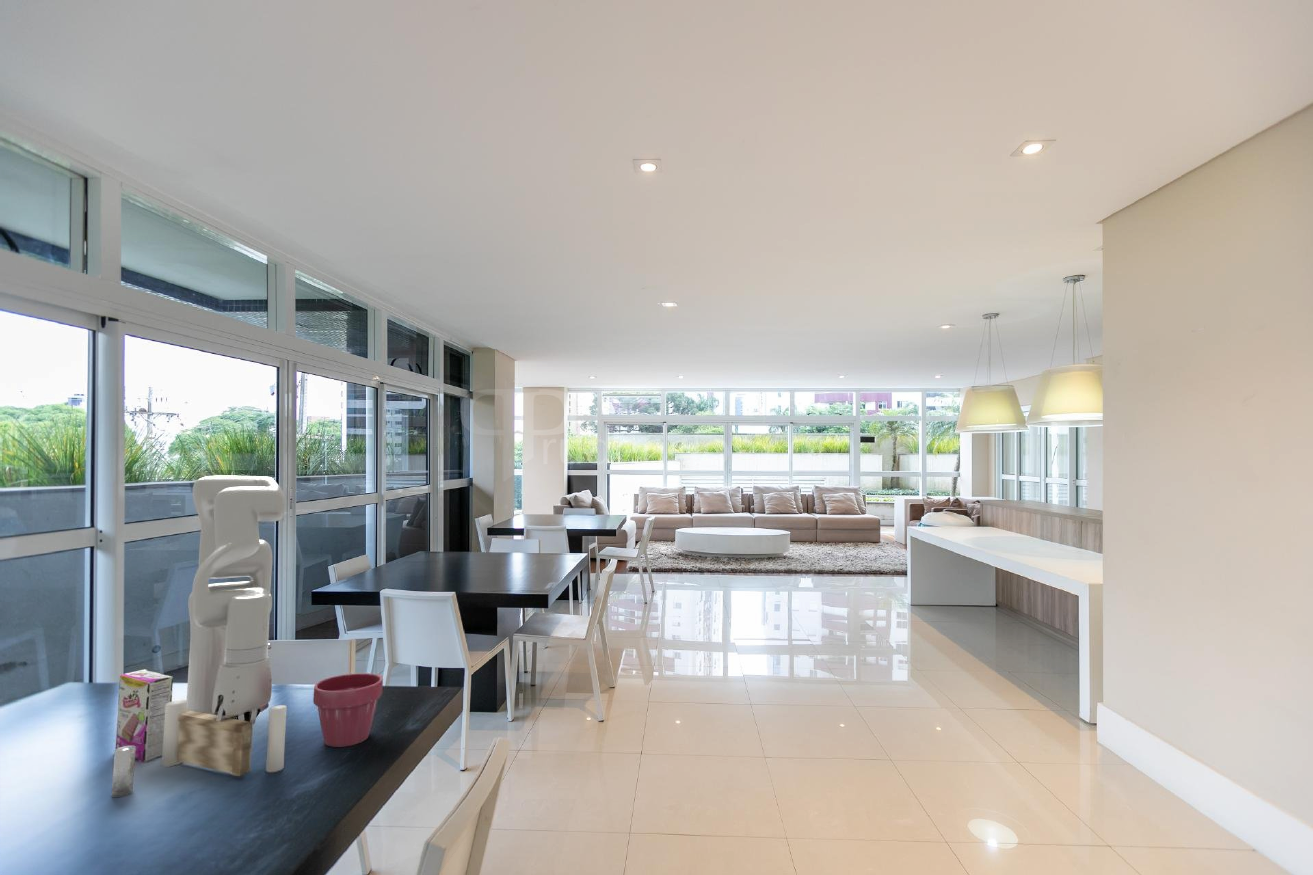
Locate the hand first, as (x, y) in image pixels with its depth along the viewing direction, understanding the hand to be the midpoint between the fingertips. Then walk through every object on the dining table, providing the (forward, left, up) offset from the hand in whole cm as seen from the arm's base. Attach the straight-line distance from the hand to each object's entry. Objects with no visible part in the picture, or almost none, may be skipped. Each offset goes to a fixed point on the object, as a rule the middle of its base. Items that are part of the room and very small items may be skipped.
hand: (241, 745), depth 131 cm
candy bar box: (-2, -24, -4) cm, 25 cm away
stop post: (+14, -12, -4) cm, 19 cm away
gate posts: (+1, -3, -4) cm, 5 cm away
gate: (+4, -3, -3) cm, 6 cm away
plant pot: (-15, +14, -4) cm, 21 cm away
